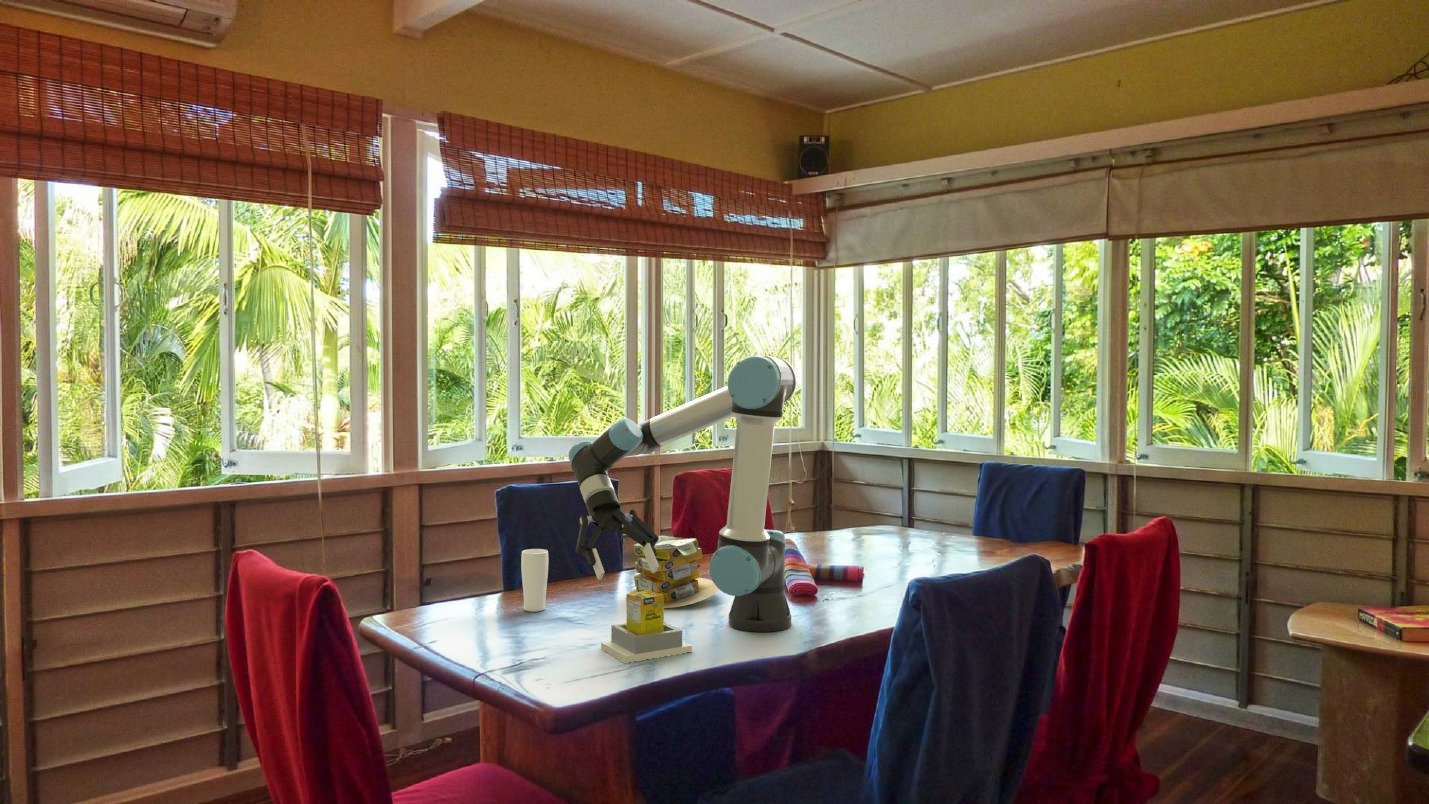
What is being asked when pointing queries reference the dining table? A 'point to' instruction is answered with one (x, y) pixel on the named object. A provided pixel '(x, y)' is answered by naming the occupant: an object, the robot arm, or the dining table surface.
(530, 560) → the drinking glass
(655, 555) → the robot arm
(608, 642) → the box holder
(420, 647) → the dining table surface
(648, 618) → the supplement box
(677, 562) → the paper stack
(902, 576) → the dining table surface
